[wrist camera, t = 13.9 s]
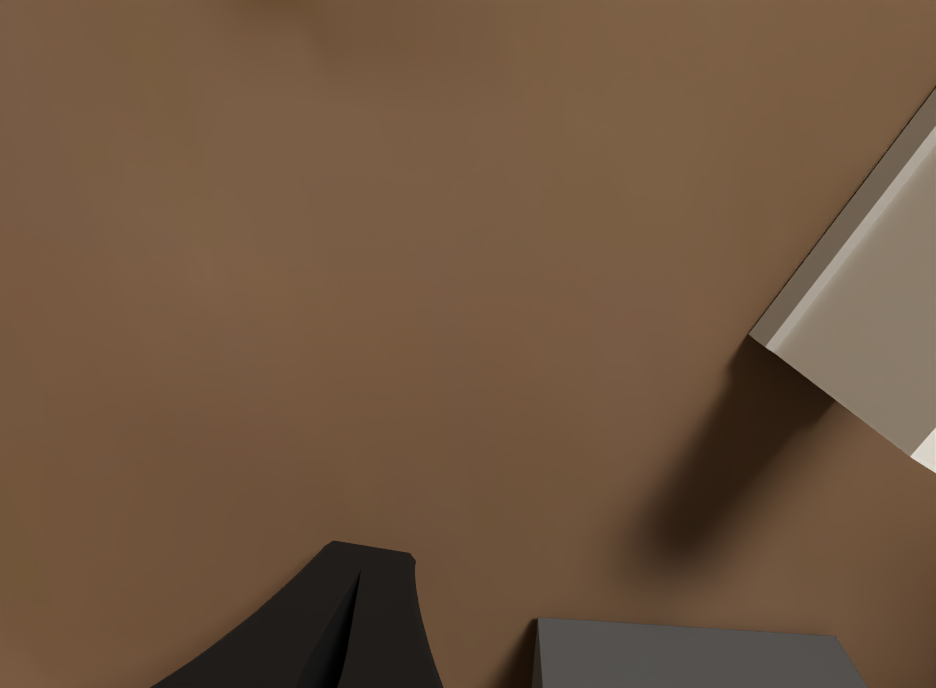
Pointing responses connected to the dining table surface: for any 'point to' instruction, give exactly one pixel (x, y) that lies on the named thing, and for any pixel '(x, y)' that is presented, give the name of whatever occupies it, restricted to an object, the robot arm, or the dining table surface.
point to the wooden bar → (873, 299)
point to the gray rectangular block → (684, 657)
